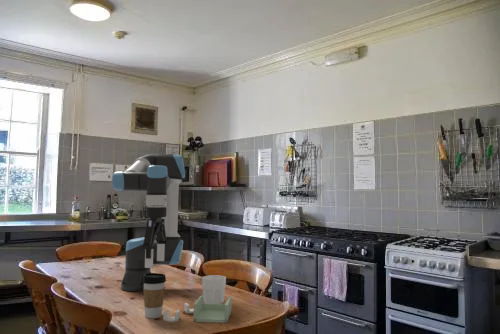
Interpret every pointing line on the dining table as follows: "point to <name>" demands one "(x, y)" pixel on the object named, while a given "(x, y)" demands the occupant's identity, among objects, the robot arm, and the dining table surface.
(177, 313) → the clip
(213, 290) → the cup
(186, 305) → the clip
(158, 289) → the coffee cup
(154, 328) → the dining table surface
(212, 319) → the holder
